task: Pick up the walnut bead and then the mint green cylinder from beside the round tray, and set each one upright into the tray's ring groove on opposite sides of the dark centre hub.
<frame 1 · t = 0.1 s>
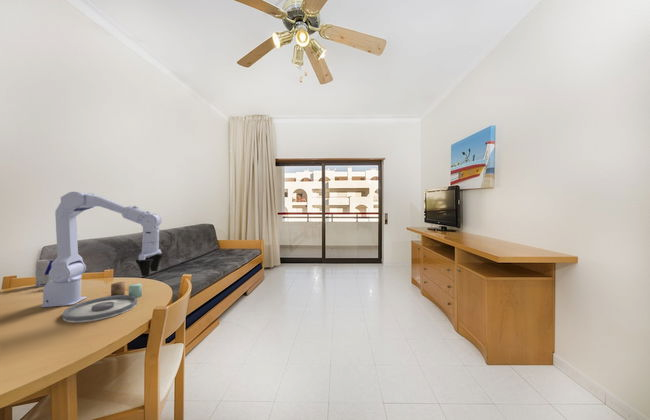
hand: (149, 273, 99), 10 cm above the table, tool pointing down, fingers open, 7 cm apart
groove tray: (102, 309, 85), on the table
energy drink: (44, 285, 109), on the table
walnut bead: (117, 295, 99), on the table
mint green cylinder: (135, 296, 98), on the table
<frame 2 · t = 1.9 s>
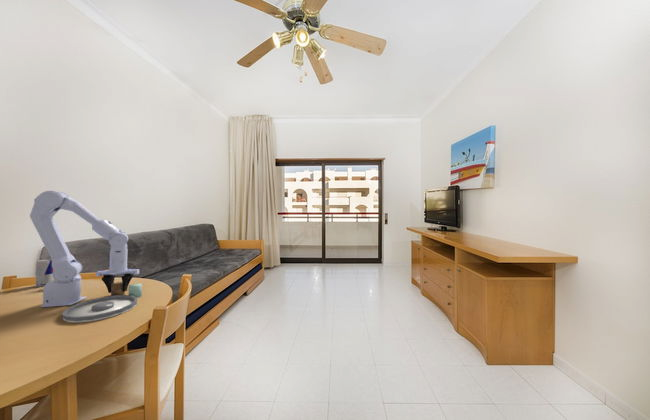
hand: (117, 291, 99), 1 cm above the table, tool pointing down, fingers closed on walnut bead, 4 cm apart
walnut bead: (117, 294, 99), on the table, touching gripper
everything else where it was.
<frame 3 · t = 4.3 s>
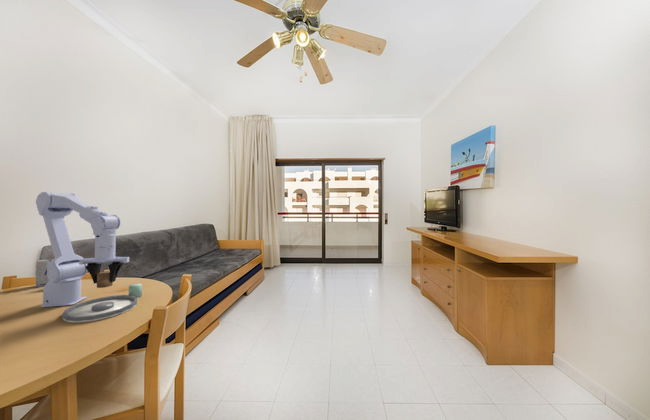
hand: (104, 282, 87), 9 cm above the table, tool pointing down, fingers closed on walnut bead, 4 cm apart
walnut bead: (104, 285, 87), point 8 cm above the table, touching gripper
everything else where it was.
when the fingers open (3 cm above the table, at t = 6.5 s): walnut bead drops 1 cm, resting on groove tray.
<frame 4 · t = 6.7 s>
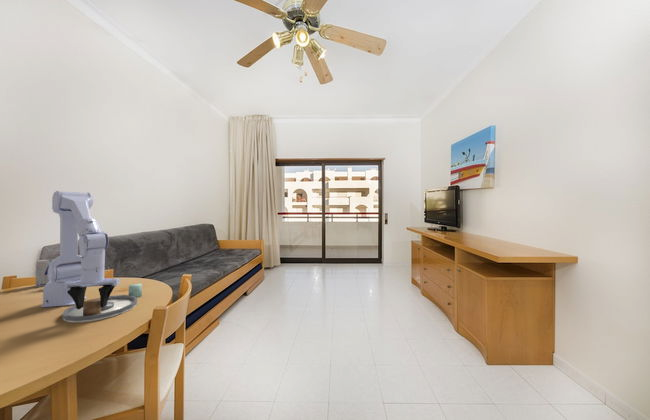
hand: (92, 307, 79), 3 cm above the table, tool pointing down, fingers open, 6 cm apart
walnut bead: (92, 315, 79), point 1 cm above the table, touching groove tray
everything else where it was.
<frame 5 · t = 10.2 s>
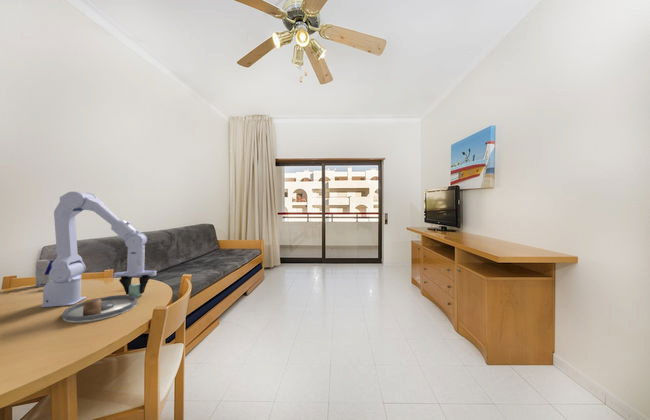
hand: (135, 293, 98), 1 cm above the table, tool pointing down, fingers closed on mint green cylinder, 4 cm apart
mint green cylinder: (135, 296, 98), on the table, touching gripper
everything else where it was.
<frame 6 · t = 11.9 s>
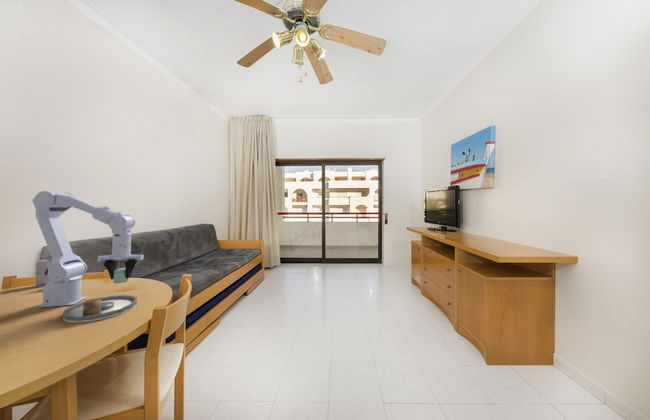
hand: (120, 278, 93), 9 cm above the table, tool pointing down, fingers closed on mint green cylinder, 4 cm apart
mint green cylinder: (120, 281, 93), point 8 cm above the table, touching gripper
everything else where it was.
when the fingers open (3 cm above the table, at t = 13.7 s): mint green cylinder drops 1 cm, resting on groove tray.
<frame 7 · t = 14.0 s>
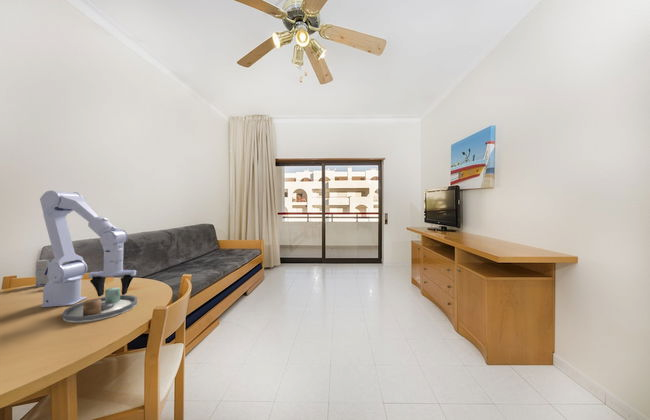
hand: (112, 294, 91), 3 cm above the table, tool pointing down, fingers open, 7 cm apart
mint green cylinder: (112, 301, 91), point 1 cm above the table, touching groove tray
everything else where it was.
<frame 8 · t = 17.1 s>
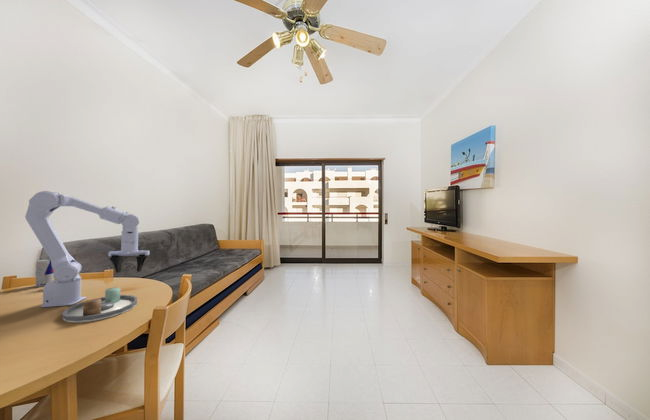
hand: (129, 271, 102), 9 cm above the table, tool pointing down, fingers open, 7 cm apart
nothing on the table moved.
at the end: walnut bead 0.0 cm from the target spot on the groove tray, point 0.6 cm above the groove tray's base; mint green cylinder 0.0 cm from the target spot on the groove tray, point 0.6 cm above the groove tray's base; the gripper is holding nothing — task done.
